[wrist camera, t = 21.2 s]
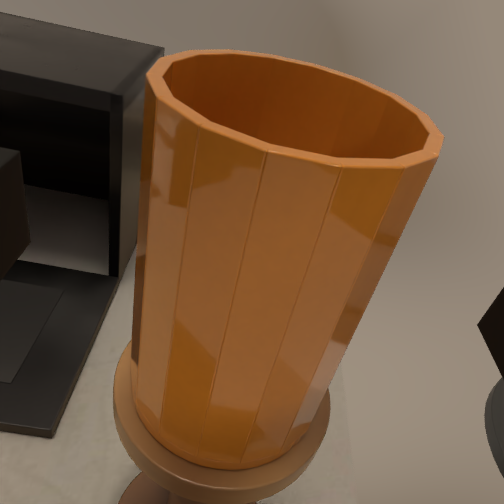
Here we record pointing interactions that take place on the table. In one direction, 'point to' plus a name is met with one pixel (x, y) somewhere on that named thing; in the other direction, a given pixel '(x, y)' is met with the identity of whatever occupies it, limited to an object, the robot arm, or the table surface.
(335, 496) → the table surface
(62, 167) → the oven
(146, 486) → the copper pedestal stand
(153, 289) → the cup
